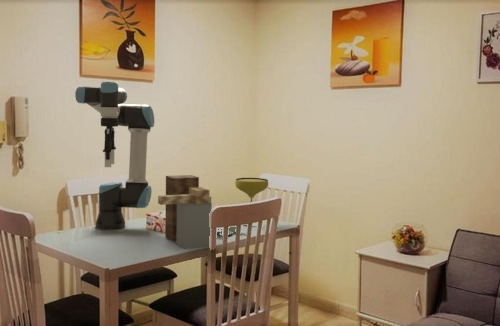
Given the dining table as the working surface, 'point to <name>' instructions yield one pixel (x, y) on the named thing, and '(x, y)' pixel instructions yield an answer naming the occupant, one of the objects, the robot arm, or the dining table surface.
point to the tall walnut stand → (176, 187)
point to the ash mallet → (187, 197)
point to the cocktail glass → (251, 185)
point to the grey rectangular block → (193, 224)
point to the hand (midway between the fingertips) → (109, 165)
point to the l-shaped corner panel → (230, 230)
